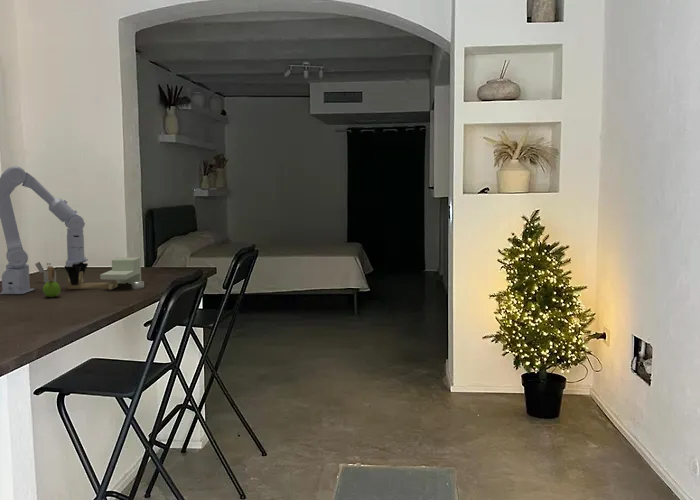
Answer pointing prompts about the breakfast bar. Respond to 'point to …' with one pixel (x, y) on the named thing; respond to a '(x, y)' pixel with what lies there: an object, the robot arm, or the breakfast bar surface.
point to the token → (137, 284)
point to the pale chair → (124, 270)
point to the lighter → (44, 272)
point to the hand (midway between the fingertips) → (76, 283)
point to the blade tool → (90, 284)
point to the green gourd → (51, 284)
